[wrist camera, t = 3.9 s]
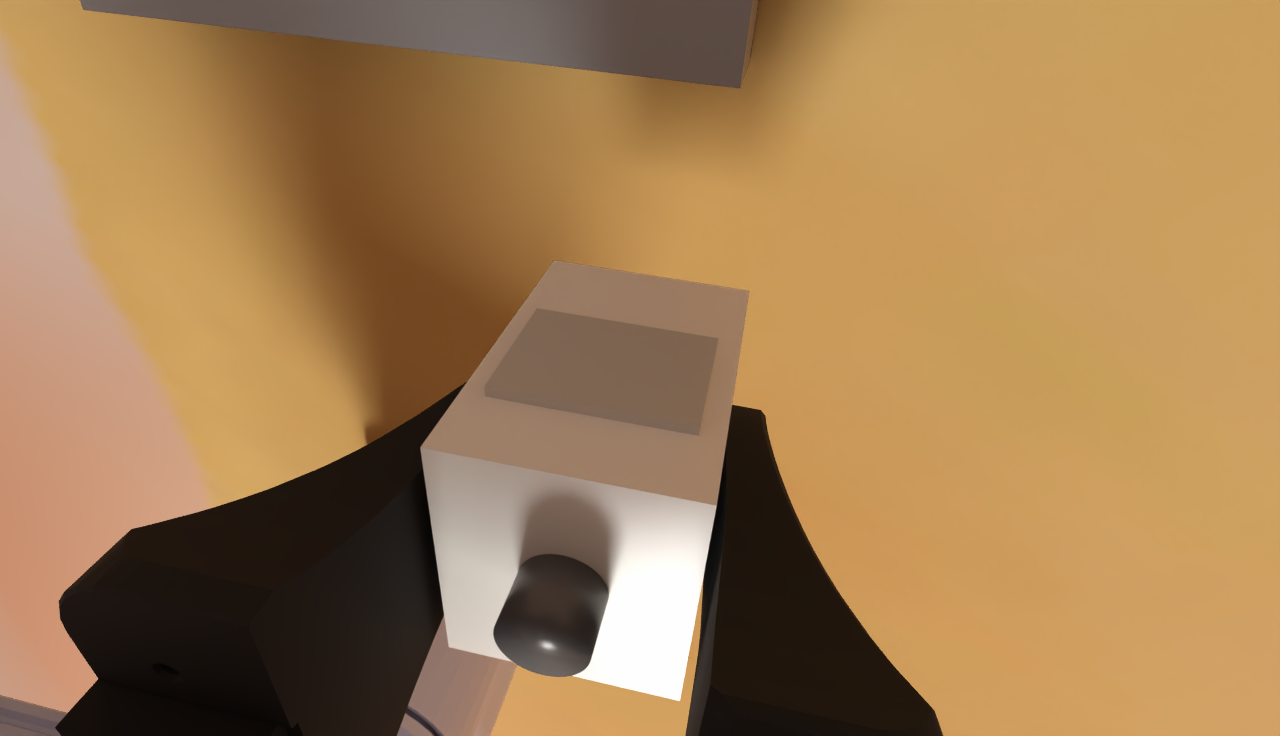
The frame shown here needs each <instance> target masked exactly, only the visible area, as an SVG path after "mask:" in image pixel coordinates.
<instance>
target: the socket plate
mask: <svg viewBox="0 0 1280 736" xmlns="http://www.w3.org/2000/svg"><path fill="white" fill-rule="evenodd" d="M80 2H81V4H82V7H83V10H89V11H97V12H106V13H114V14H123V15H131V16H139V17H148V18H156V19H164V20H173V21H181V22H190V23H198V24H206V25H215V26H223V27H231V28H240V29H248V30H256V31H265V32H273V33H282V34H290V35H298V36H307V37H315V38H323V39H332V40H340V41H349V42H357V43H365V44H374V45H382V46H390V47H399V48H407V49H415V50H424V51H432V52H441V53H449V54H457V55H466V56H474V57H482V58H491V59H499V60H508V61H516V62H524V63H533V64H541V65H549V66H558V67H566V68H574V69H583V70H591V71H600V72H608V73H616V74H625V75H633V76H641V77H650V78H658V79H667V80H675V81H683V82H692V83H700V84H708V85H717V86H725V87H733V88H740V87H741V84H742V81H743V79H744V76H745V73H746V70H747V67H748V64H749V62H750V56H751V49H752V42H753V36H754V29H755V22H756V16H757V9H758V2H759V0H80Z"/></svg>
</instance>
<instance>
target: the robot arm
mask: <svg viewBox="0 0 1280 736" xmlns="http://www.w3.org/2000/svg"><path fill="white" fill-rule="evenodd" d="M466 383H467V382H465V383H464V384H463V385H461V386H460V387H458V388H457V389H455V390H454V391H453V392H451V393H450V394H448V395H447V396H445V397H444V398H442V399H441V400H439V401H438V402H437V403H435V404H434V405H432V406H431V407H429V408H428V409H426V410H425V411H423V412H422V413H420V414H419V415H417V416H415V417H414V418H412V419H410V420H409V421H407V422H405V423H404V424H402V425H400V426H399V427H397V428H395V429H394V430H392V431H391V432H389V433H387V434H386V435H384V436H382V437H381V438H379V439H377V440H375V441H374V442H372V443H370V444H368V445H366V446H364V447H362V448H361V449H359V450H357V451H355V452H353V453H351V454H349V455H347V456H345V457H343V458H341V459H339V460H336V461H334V462H332V463H330V464H328V465H326V466H324V467H322V468H319V469H317V470H315V471H312V472H310V473H307V474H305V475H302V476H300V477H298V478H295V479H293V480H290V481H288V482H285V483H283V484H281V485H278V486H276V487H273V488H270V489H268V490H265V491H262V492H259V493H257V494H254V495H251V496H248V497H245V498H242V499H239V500H236V501H233V502H230V503H227V504H224V505H220V506H217V507H214V508H211V509H207V510H204V511H201V512H198V513H194V514H190V515H186V516H182V517H178V518H174V519H171V520H167V521H163V522H159V523H155V524H152V525H147V526H143V527H139V528H135V529H131V530H130V531H129V532H128V533H127V534H126V535H125V536H124V537H122V538H121V539H120V540H119V541H118V542H117V543H116V544H115V545H114V546H113V547H112V548H111V549H110V550H109V551H107V552H106V553H105V554H104V555H103V556H102V557H101V558H100V559H99V560H98V561H97V562H96V563H95V564H94V565H93V566H92V567H90V568H89V569H88V570H87V571H86V572H85V573H84V574H83V575H82V576H81V577H80V578H79V579H78V580H77V581H76V582H74V583H73V584H72V585H71V586H70V587H69V588H68V589H67V590H66V591H65V592H64V593H63V595H62V597H61V599H60V600H59V608H60V619H61V621H62V623H63V625H64V627H65V629H66V631H67V633H68V634H69V636H70V637H71V639H72V640H73V642H74V643H75V645H76V646H77V648H78V649H79V651H80V652H81V654H82V655H83V656H84V658H85V659H86V661H87V662H88V664H89V665H90V666H91V668H92V670H93V671H94V673H95V674H96V676H97V677H98V680H97V681H96V682H95V684H94V685H93V686H92V687H91V688H90V689H89V690H88V691H87V692H86V693H85V695H84V696H83V697H82V698H81V699H80V700H79V701H78V702H77V703H76V705H75V706H74V707H73V708H72V709H71V710H70V711H69V712H68V713H66V712H62V711H58V710H54V709H50V708H47V707H43V706H39V705H36V704H32V703H28V702H24V701H20V700H17V699H13V698H9V697H5V696H1V695H0V736H490V735H491V732H492V730H493V727H494V724H495V722H496V719H497V716H498V714H499V711H500V709H501V706H502V703H503V701H504V698H505V695H506V693H507V690H508V687H509V685H510V682H511V680H512V677H513V674H514V672H515V669H516V666H517V664H516V663H514V662H511V661H506V660H502V659H498V658H493V657H489V656H485V655H480V654H476V653H472V652H468V651H463V650H459V649H455V648H450V647H449V645H448V638H447V631H446V624H445V617H444V610H443V603H442V596H441V589H440V582H439V575H438V568H437V561H436V554H435V547H434V540H433V533H432V526H431V519H430V512H429V506H428V499H427V492H426V485H425V478H424V471H423V464H422V457H421V450H420V447H421V446H422V444H423V443H424V442H425V440H426V439H427V437H428V436H429V435H430V433H431V432H432V430H433V429H434V428H435V426H436V425H437V423H438V422H439V421H440V419H441V418H442V416H443V415H444V414H445V412H446V411H447V409H448V408H449V407H450V405H451V404H452V402H453V401H454V400H455V398H456V397H457V395H458V394H459V393H460V391H461V390H462V388H463V387H464V386H465V384H466ZM686 736H943V734H942V731H941V728H940V725H939V722H938V719H937V717H936V714H935V711H934V710H933V709H932V707H931V706H930V705H929V704H928V703H927V702H926V701H925V700H924V699H923V698H922V697H921V695H920V694H919V693H918V692H917V691H916V690H915V689H914V688H913V687H912V686H911V685H910V683H909V682H908V681H907V680H906V679H905V678H904V677H903V676H902V675H901V674H900V673H899V671H898V670H897V669H896V668H895V667H894V666H893V665H892V664H891V662H890V661H889V660H888V659H887V657H886V656H885V655H884V654H883V652H882V651H881V650H880V649H879V647H878V646H877V645H876V644H875V642H874V641H873V640H872V639H871V637H870V636H869V635H868V633H867V632H866V630H865V629H864V627H863V626H862V625H861V623H860V622H859V620H858V619H857V618H856V616H855V615H854V613H853V612H852V611H851V609H850V608H849V606H848V605H847V604H846V602H845V601H844V599H843V598H842V596H841V595H840V593H839V592H838V590H837V589H836V587H835V586H834V584H833V582H832V581H831V579H830V577H829V576H828V574H827V573H826V571H825V569H824V568H823V566H822V564H821V562H820V560H819V559H818V557H817V555H816V553H815V552H814V550H813V548H812V546H811V544H810V542H809V540H808V538H807V536H806V534H805V532H804V530H803V528H802V526H801V524H800V522H799V519H798V517H797V515H796V513H795V511H794V508H793V506H792V504H791V501H790V499H789V497H788V494H787V491H786V489H785V486H784V483H783V481H782V478H781V475H780V473H779V470H778V467H777V464H776V461H775V457H774V454H773V451H772V447H771V443H770V440H769V435H768V431H767V425H766V417H765V415H764V414H763V412H762V411H761V410H758V409H752V408H747V407H741V406H735V405H732V408H731V415H730V422H729V428H728V435H727V441H726V448H725V454H724V461H723V468H722V474H721V481H720V487H719V494H718V500H717V507H716V512H715V517H714V523H713V528H712V533H711V539H710V544H709V549H708V554H707V560H706V565H705V570H704V580H703V597H702V614H701V631H700V641H699V651H698V658H697V665H696V672H695V678H694V685H693V691H692V698H691V704H690V710H689V717H688V723H687V730H686Z"/></svg>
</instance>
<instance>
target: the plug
mask: <svg viewBox="0 0 1280 736" xmlns="http://www.w3.org/2000/svg"><path fill="white" fill-rule="evenodd" d="M748 297H749V291H748V290H741V289H735V288H729V287H722V286H716V285H710V284H703V283H697V282H690V281H684V280H678V279H671V278H665V277H658V276H652V275H646V274H639V273H633V272H627V271H620V270H614V269H607V268H601V267H595V266H588V265H582V264H576V263H569V262H563V261H556V260H554V261H553V263H552V264H551V265H550V267H549V268H548V270H547V271H546V272H545V274H544V275H543V277H542V278H541V279H540V281H539V282H538V284H537V285H536V286H535V288H534V289H533V291H532V292H531V293H530V295H529V296H528V298H527V299H526V300H525V302H524V303H523V304H522V306H521V307H520V309H519V310H518V311H517V313H516V314H515V316H514V317H513V318H512V320H511V321H510V323H509V324H508V325H507V327H506V328H505V330H504V331H503V332H502V334H501V335H500V337H499V338H498V339H497V341H496V342H495V344H494V345H493V346H492V348H491V349H490V351H489V352H488V353H487V355H486V356H485V358H484V359H483V360H482V362H481V363H480V365H479V366H478V367H477V369H476V370H475V372H474V373H473V374H472V376H471V377H470V379H469V380H468V381H467V383H466V384H465V386H464V387H463V388H462V390H461V391H460V393H459V394H458V395H457V397H456V398H455V400H454V401H453V402H452V404H451V405H450V407H449V408H448V409H447V411H446V412H445V414H444V415H443V416H442V418H441V419H440V421H439V422H438V423H437V425H436V426H435V428H434V429H433V430H432V432H431V433H430V435H429V436H428V437H427V439H426V440H425V442H424V443H423V444H422V446H421V447H420V450H421V457H422V464H423V471H424V478H425V485H426V492H427V499H428V506H429V512H430V519H431V526H432V533H433V540H434V547H435V554H436V561H437V568H438V575H439V582H440V589H441V596H442V603H443V610H444V617H445V624H446V631H447V638H448V645H449V647H450V648H455V649H459V650H463V651H468V652H472V653H476V654H480V655H485V656H489V657H493V658H498V659H502V660H506V661H511V662H514V663H516V664H517V665H519V666H521V667H523V668H525V669H527V670H529V671H532V672H535V673H538V674H541V675H546V676H553V677H566V676H575V677H579V678H583V679H588V680H592V681H596V682H601V683H605V684H609V685H614V686H618V687H622V688H626V689H631V690H635V691H639V692H644V693H648V694H652V695H656V696H661V697H665V698H669V699H674V700H678V701H680V697H681V692H682V687H683V681H684V676H685V671H686V666H687V660H688V655H689V650H690V644H691V639H692V634H693V628H694V623H695V618H696V613H697V607H698V602H699V597H700V591H701V586H702V581H703V576H704V570H705V565H706V560H707V554H708V549H709V544H710V539H711V533H712V528H713V523H714V517H715V512H716V507H717V500H718V494H719V487H720V481H721V474H722V468H723V461H724V454H725V448H726V441H727V435H728V428H729V422H730V415H731V408H732V402H733V395H734V389H735V382H736V376H737V369H738V362H739V356H740V349H741V343H742V336H743V329H744V323H745V316H746V310H747V303H748Z"/></svg>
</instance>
